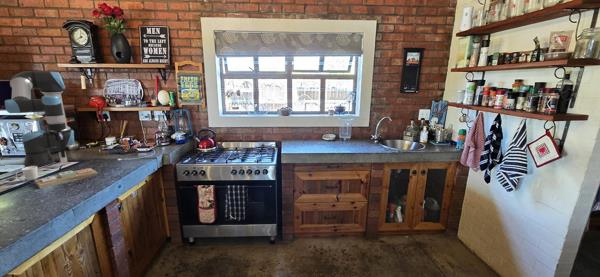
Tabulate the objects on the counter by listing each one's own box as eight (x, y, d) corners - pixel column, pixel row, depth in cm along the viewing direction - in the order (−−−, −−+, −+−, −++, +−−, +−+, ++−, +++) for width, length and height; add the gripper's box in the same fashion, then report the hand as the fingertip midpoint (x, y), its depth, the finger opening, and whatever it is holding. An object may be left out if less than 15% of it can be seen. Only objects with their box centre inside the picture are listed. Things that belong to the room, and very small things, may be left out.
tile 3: (76, 174, 157) (75, 171, 157) (88, 172, 162) (87, 168, 161) (79, 177, 154) (79, 173, 153) (91, 174, 159) (91, 170, 158)
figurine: (118, 152, 210) (116, 138, 207) (132, 150, 217) (130, 136, 215) (122, 154, 203) (120, 140, 201) (136, 152, 211) (134, 138, 208)
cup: (37, 181, 148) (34, 168, 146) (14, 184, 144) (10, 171, 142) (43, 177, 154) (40, 165, 152) (21, 180, 150) (18, 167, 148)
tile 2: (59, 176, 150) (58, 172, 150) (72, 174, 155) (71, 170, 155) (62, 179, 147) (61, 174, 147) (75, 176, 152) (74, 172, 151)
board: (35, 183, 145) (34, 179, 144) (90, 171, 166) (90, 167, 165) (40, 189, 138) (39, 185, 137) (97, 175, 158) (97, 171, 158)
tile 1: (41, 182, 144) (40, 178, 144) (55, 179, 149) (54, 175, 149) (43, 185, 141) (42, 181, 140) (57, 182, 146) (56, 177, 145)
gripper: (44, 122, 145) (52, 161, 150) (50, 124, 137) (58, 165, 142) (61, 121, 151) (69, 158, 156) (68, 123, 143) (75, 162, 148)
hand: (64, 162), depth 149 cm, fingers closed
